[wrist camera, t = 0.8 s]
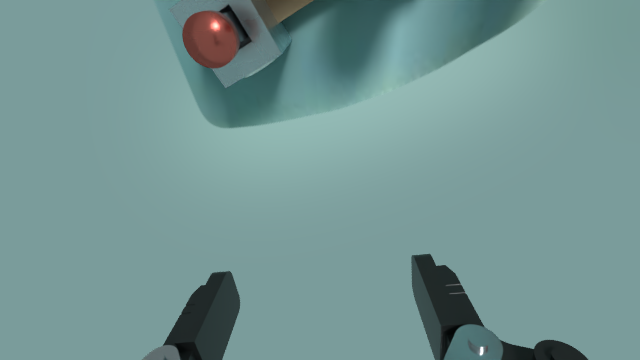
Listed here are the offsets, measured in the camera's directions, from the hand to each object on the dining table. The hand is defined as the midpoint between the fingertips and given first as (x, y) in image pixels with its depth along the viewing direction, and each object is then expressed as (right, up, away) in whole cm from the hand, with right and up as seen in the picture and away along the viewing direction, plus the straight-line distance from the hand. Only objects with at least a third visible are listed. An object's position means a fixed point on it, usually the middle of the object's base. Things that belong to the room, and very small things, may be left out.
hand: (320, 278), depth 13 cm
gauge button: (-7, +18, +13) cm, 24 cm away
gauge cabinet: (-7, +20, +17) cm, 27 cm away
